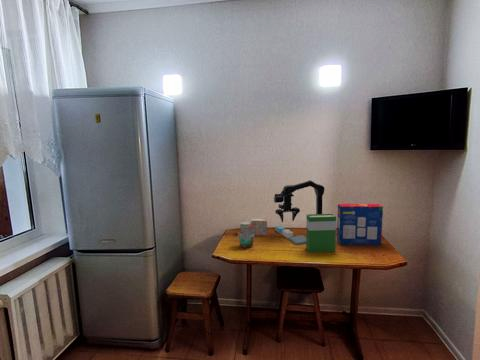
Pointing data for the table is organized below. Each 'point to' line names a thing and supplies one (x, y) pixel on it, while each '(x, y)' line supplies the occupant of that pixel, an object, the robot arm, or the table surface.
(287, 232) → the cream brick
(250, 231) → the stack of blocks
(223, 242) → the table surface
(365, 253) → the table surface
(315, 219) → the green cereal box
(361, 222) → the blue product box
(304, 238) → the baseplate
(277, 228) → the teal brick
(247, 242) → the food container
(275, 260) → the table surface
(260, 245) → the table surface
